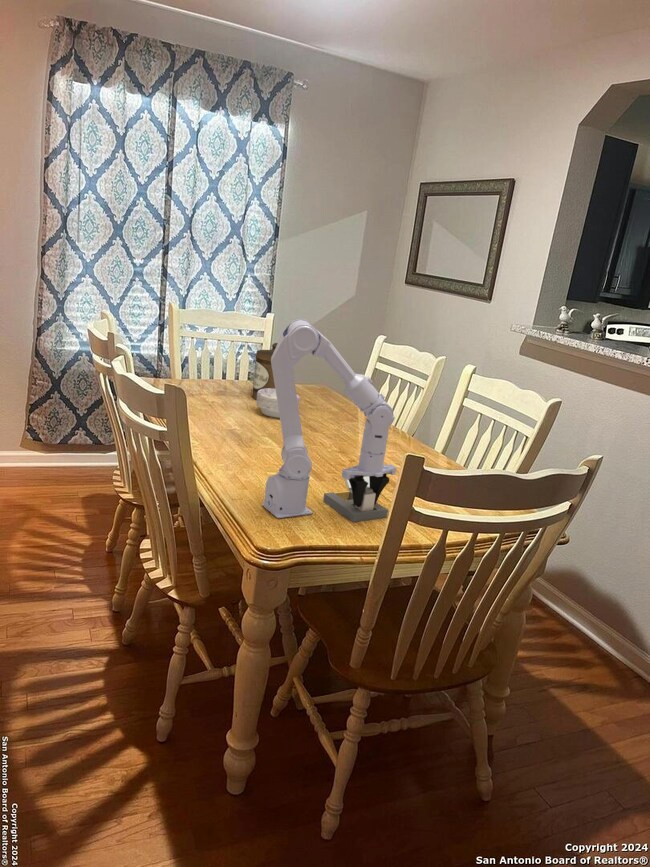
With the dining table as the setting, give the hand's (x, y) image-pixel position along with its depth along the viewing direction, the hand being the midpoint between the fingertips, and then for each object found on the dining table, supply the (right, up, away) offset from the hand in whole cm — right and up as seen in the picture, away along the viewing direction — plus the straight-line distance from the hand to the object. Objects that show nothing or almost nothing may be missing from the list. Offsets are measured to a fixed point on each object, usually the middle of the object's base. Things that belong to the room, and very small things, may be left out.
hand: (364, 504), depth 157 cm
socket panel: (-2, -1, +3) cm, 4 cm away
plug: (0, -3, +1) cm, 3 cm away
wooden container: (-31, +30, +100) cm, 109 cm away
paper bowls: (-27, +23, +79) cm, 86 cm away
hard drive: (0, +3, +21) cm, 21 cm away
